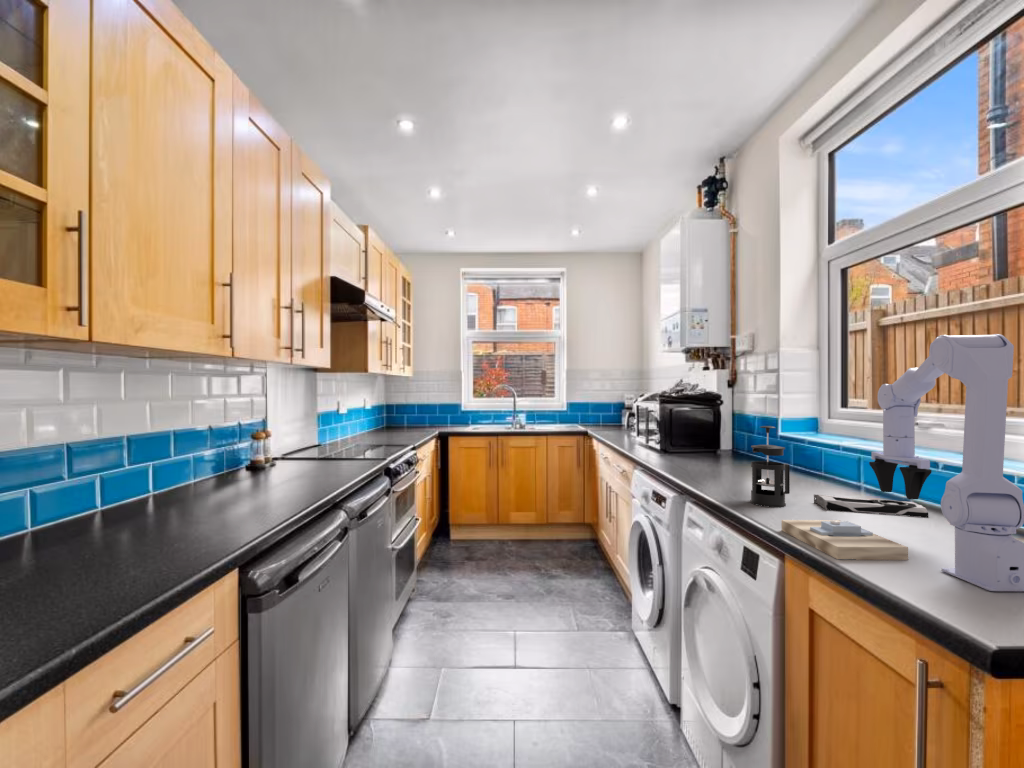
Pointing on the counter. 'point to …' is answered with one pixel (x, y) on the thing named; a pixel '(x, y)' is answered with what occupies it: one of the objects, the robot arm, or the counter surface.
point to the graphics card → (870, 506)
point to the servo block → (840, 529)
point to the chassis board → (845, 543)
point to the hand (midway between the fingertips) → (898, 495)
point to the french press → (768, 496)
